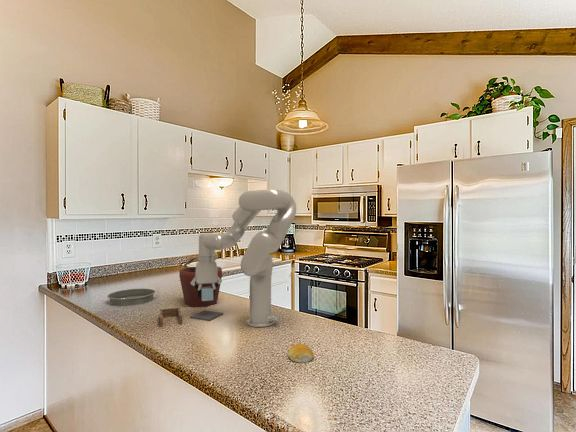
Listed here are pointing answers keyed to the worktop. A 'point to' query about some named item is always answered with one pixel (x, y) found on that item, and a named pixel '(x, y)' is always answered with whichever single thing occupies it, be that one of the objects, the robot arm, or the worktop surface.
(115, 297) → the cake pan
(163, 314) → the shelf bay
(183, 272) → the bucket
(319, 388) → the worktop surface
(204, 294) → the block
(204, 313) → the mat
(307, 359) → the bread roll
